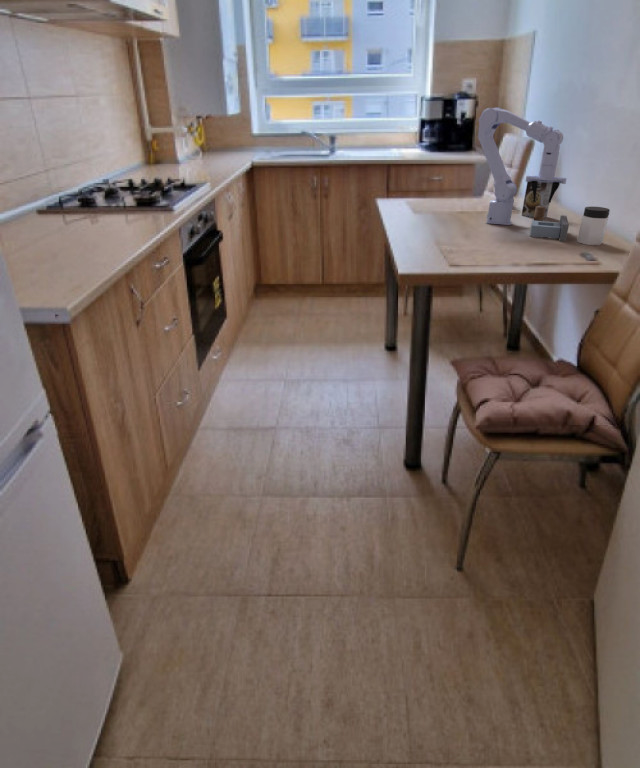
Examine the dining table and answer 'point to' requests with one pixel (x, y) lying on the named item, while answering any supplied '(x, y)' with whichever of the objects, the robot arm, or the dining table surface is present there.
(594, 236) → the jar
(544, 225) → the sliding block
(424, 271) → the dining table surface
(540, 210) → the dowel
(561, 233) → the wall
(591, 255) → the dining table surface
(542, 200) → the coffee box
